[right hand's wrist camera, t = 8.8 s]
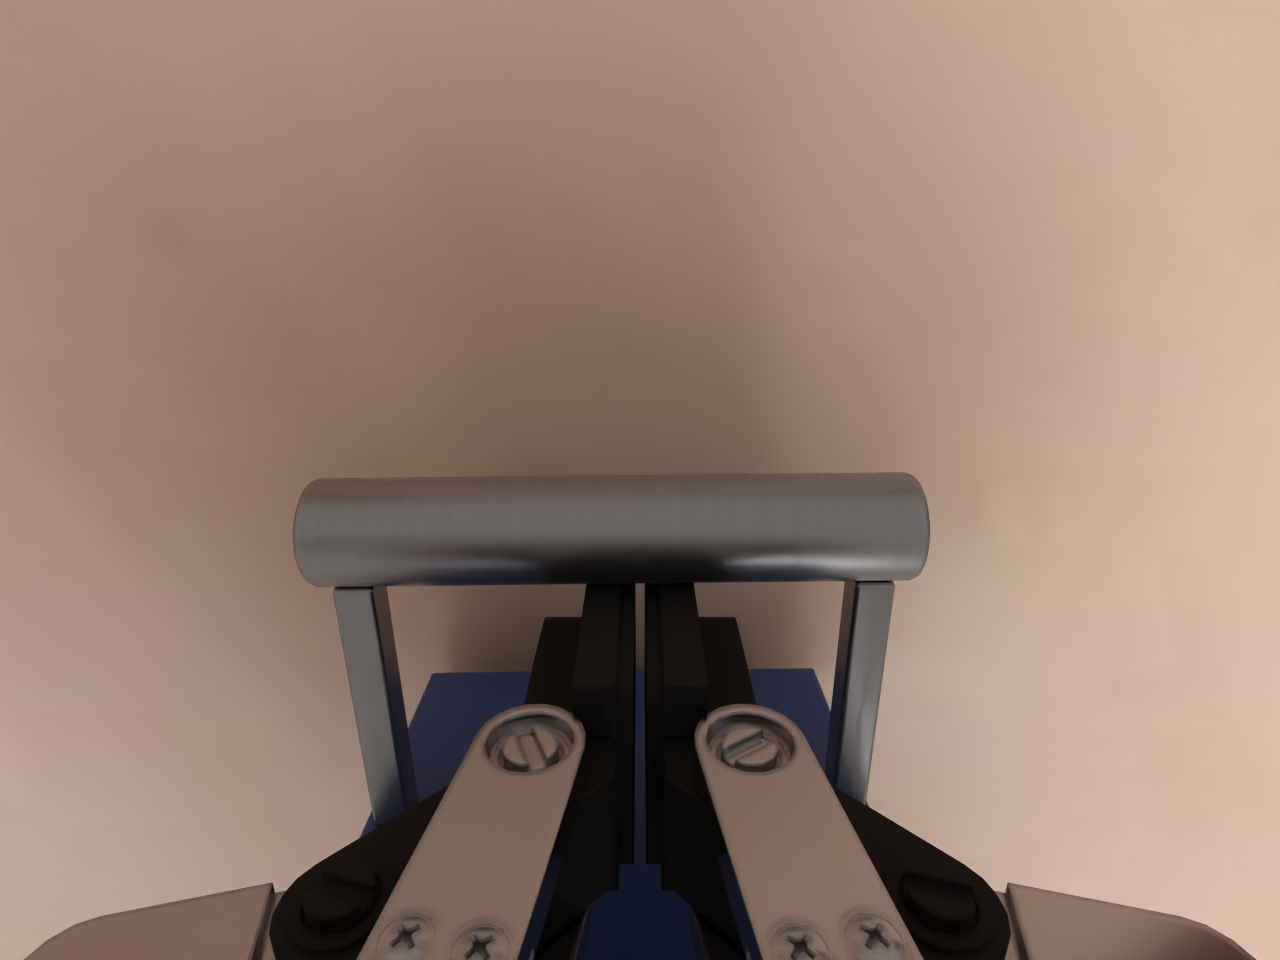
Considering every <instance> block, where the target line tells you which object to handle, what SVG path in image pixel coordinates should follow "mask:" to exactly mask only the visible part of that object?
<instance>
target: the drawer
mask: <svg viewBox="0 0 1280 960" xmlns="http://www.w3.org/2000/svg"><path fill="white" fill-rule="evenodd" d="M929 541H930V521H929V512H928V506H927V502H926V498H925V495H924V492H923V489H922V487H921V485H920V483H919V482H918V480H917V479H916V478H915V477H914V476H912V475H910V474H908V473H904V472H898V473H801V474H703V475H605V476H507V477H410V478H321V479H317V480H315V481H313V482H311V483H310V484H309V485H308V486H307V487H306V488H305V489H304V491H303V493H302V494H301V497H300V499H299V501H298V505H297V508H296V512H295V518H294V526H293V544H294V553H295V558H296V562H297V565H298V568H299V570H300V573H301V574H302V576H303V578H304V579H305V580H306V581H307V582H308V583H310V584H312V585H314V586H317V587H335V588H334V590H333V595H334V600H335V606H336V612H337V617H338V623H339V628H340V634H341V639H342V645H343V650H344V656H345V662H346V667H347V673H348V678H349V684H350V689H351V695H352V701H353V706H354V712H355V717H356V723H357V728H358V734H359V739H360V745H361V751H362V756H363V762H364V767H365V773H366V778H367V784H368V789H369V795H370V801H371V806H372V812H371V814H370V816H369V818H368V821H367V823H366V825H365V827H364V830H363V832H362V834H361V836H360V838H361V837H362V836H364V835H366V834H367V833H369V832H371V831H372V830H374V829H376V828H377V827H379V826H381V825H382V824H384V823H386V822H387V821H389V820H391V819H392V818H394V817H396V816H397V815H399V814H401V813H402V812H404V811H406V810H407V809H409V808H411V807H412V806H414V805H416V804H417V803H419V802H421V801H422V800H424V799H426V798H427V797H429V796H430V795H432V794H434V793H435V792H437V791H439V790H440V789H442V788H444V787H445V786H447V785H449V784H450V783H451V781H452V779H453V778H454V776H455V774H456V772H457V770H458V768H459V766H460V764H461V763H462V761H463V759H464V757H465V755H466V753H467V751H468V749H469V748H470V746H471V744H472V742H473V740H474V738H475V736H476V734H477V733H478V732H479V730H480V729H481V728H482V727H483V725H484V724H485V723H486V722H487V721H489V720H490V719H491V718H493V717H494V716H496V715H497V714H499V713H501V712H503V711H506V710H508V709H510V708H513V707H517V706H522V705H524V702H525V697H526V693H527V689H528V685H529V681H530V676H531V672H470V673H434V674H432V676H431V678H430V680H429V682H428V685H427V687H426V689H425V691H424V694H423V696H422V698H421V700H420V703H419V705H418V707H417V710H416V712H415V714H414V716H413V719H412V721H411V723H410V725H409V728H408V727H407V720H406V714H405V707H404V700H403V694H402V687H401V680H400V674H399V667H398V660H397V654H396V647H395V640H394V633H393V627H392V620H391V613H390V607H389V600H388V593H387V587H386V586H445V585H533V584H622V583H711V582H800V581H845V583H844V592H843V602H842V611H841V621H840V630H839V640H838V649H837V659H836V668H835V678H834V687H833V697H832V706H831V712H830V709H829V707H828V704H827V702H826V699H825V697H824V694H823V692H822V689H821V687H820V684H819V682H818V679H817V677H816V674H815V672H814V670H813V669H811V668H801V669H748V671H749V676H750V680H751V684H752V688H753V692H754V697H755V701H756V705H758V706H763V707H767V708H770V709H772V710H774V711H777V712H779V713H781V714H783V715H784V716H786V717H787V718H789V719H790V720H791V721H793V722H794V723H795V724H796V725H797V727H798V728H799V729H800V730H801V732H802V733H803V734H804V736H805V738H806V740H807V742H808V744H809V746H810V748H811V749H812V751H813V753H814V755H815V757H816V759H817V761H818V763H819V764H820V766H821V768H822V770H823V772H824V774H825V776H826V778H827V779H828V781H829V783H830V784H831V785H833V786H835V787H836V788H838V789H840V790H841V791H843V792H845V793H846V794H848V795H850V796H851V797H853V798H855V799H856V800H858V801H860V802H861V803H863V804H865V805H866V806H868V803H867V801H866V796H867V789H868V781H869V774H870V766H871V759H872V751H873V744H874V736H875V729H876V721H877V714H878V706H879V699H880V691H881V684H882V676H883V669H884V661H885V654H886V646H887V639H888V632H889V624H890V617H891V609H892V602H893V594H894V587H895V585H894V582H893V581H892V580H911V579H913V578H915V577H917V576H918V575H919V574H920V573H921V571H922V569H923V567H924V565H925V562H926V559H927V555H928V550H929ZM868 807H869V806H868ZM583 960H697V959H696V955H695V951H694V946H693V942H692V937H691V933H690V929H689V917H688V903H687V902H685V901H684V900H683V899H682V898H681V897H680V896H679V895H677V894H676V893H675V892H674V891H662V888H661V864H646V802H645V670H636V714H635V819H634V864H619V891H606V892H605V893H604V894H603V895H602V896H601V897H599V898H598V899H597V900H596V901H595V902H594V903H592V917H591V929H590V933H589V937H588V942H587V946H586V951H585V955H584V959H583Z"/></svg>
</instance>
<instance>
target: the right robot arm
mask: <svg viewBox="0 0 1280 960" xmlns="http://www.w3.org/2000/svg"><path fill="white" fill-rule="evenodd" d="M635 714H636V618H635V583H622V584H587V585H586V591H585V598H584V605H583V612H582V617H546V618H545V619H544V622H543V626H542V630H541V634H540V639H539V643H538V647H537V651H536V655H535V660H534V664H533V668H532V672H531V676H530V681H529V685H528V689H527V693H526V697H525V702H524V705H522V706H517V707H513V708H510V709H508V710H506V711H503V712H501V713H499V714H497V715H496V716H494V717H493V718H491V719H490V720H489V721H487V722H486V723H485V724H484V725H483V727H482V728H481V729H480V730H479V732H478V733H477V734H476V736H475V738H474V740H473V742H472V744H471V746H470V748H469V749H468V751H467V753H466V755H465V757H464V759H463V761H462V763H461V764H460V766H459V768H458V770H457V772H456V774H455V776H454V778H453V779H452V781H451V783H450V784H449V785H447V786H445V787H444V788H442V789H440V790H439V791H437V792H435V793H434V794H432V795H430V796H429V797H427V798H426V799H424V800H422V801H421V802H419V803H417V804H416V805H414V806H412V807H411V808H409V809H407V810H406V811H404V812H402V813H401V814H399V815H397V816H396V817H394V818H392V819H391V820H389V821H387V822H386V823H384V824H382V825H381V826H379V827H377V828H376V829H374V830H372V831H371V832H369V833H367V834H366V835H364V836H362V837H361V838H359V839H357V840H356V841H354V842H352V843H351V844H349V845H348V846H346V847H344V848H343V849H341V850H339V851H338V852H336V853H334V854H333V855H331V856H329V857H328V858H326V859H324V860H323V861H321V862H319V863H318V864H316V865H315V866H313V867H312V868H311V869H309V870H308V871H307V872H305V873H304V874H303V875H301V876H300V877H299V878H297V879H296V881H295V882H294V883H293V884H292V885H291V886H290V887H289V888H288V890H287V891H283V892H278V893H275V891H274V887H273V883H267V884H262V885H257V886H252V887H247V888H242V889H237V890H232V891H227V892H222V893H216V894H211V895H206V896H201V897H196V898H191V899H186V900H181V901H176V902H171V903H165V904H160V905H155V906H150V907H145V908H140V909H135V910H130V911H125V912H120V913H114V914H109V915H104V916H100V917H97V918H94V919H90V920H87V921H84V922H81V923H78V924H75V925H73V926H71V927H69V928H68V929H66V930H64V931H62V932H61V933H59V934H57V935H55V936H54V937H52V938H50V939H48V940H47V941H46V942H44V943H43V944H42V945H41V946H40V947H38V948H37V949H36V950H35V951H34V952H32V953H31V954H30V955H29V956H28V957H27V958H25V959H24V960H583V959H584V955H585V951H586V946H587V942H588V937H589V933H590V929H591V917H592V903H594V902H595V901H596V900H597V899H598V898H599V897H601V896H602V895H603V894H604V893H605V892H606V891H619V864H634V819H635ZM645 802H646V864H661V888H662V891H674V892H675V893H676V894H677V895H679V896H680V897H681V898H682V899H683V900H684V901H685V902H687V903H688V917H689V929H690V933H691V937H692V942H693V946H694V951H695V955H696V959H697V960H1256V959H1255V958H1254V957H1252V956H1251V955H1250V954H1249V953H1248V952H1246V951H1245V950H1244V949H1243V948H1242V947H1240V946H1239V945H1238V944H1237V943H1236V942H1235V941H1233V940H1232V939H1230V938H1228V937H1226V936H1225V935H1223V934H1221V933H1219V932H1218V931H1216V930H1214V929H1212V928H1211V927H1209V926H1207V925H1205V924H1202V923H1199V922H1196V921H1193V920H1190V919H1187V918H1183V917H1180V916H1176V915H1171V914H1166V913H1160V912H1155V911H1150V910H1145V909H1140V908H1135V907H1130V906H1125V905H1120V904H1115V903H1109V902H1104V901H1099V900H1094V899H1089V898H1084V897H1079V896H1074V895H1069V894H1064V893H1059V892H1053V891H1048V890H1043V889H1038V888H1033V887H1028V886H1023V885H1018V884H1013V883H1008V884H1007V888H1006V892H1005V893H1002V892H997V891H993V889H992V888H991V887H990V886H989V885H988V884H987V883H986V882H985V880H984V879H983V878H982V877H980V876H979V875H978V874H976V873H975V872H973V871H972V870H971V869H969V868H968V867H967V866H965V865H964V864H962V863H961V862H959V861H958V860H956V859H954V858H953V857H951V856H949V855H948V854H946V853H944V852H943V851H941V850H939V849H938V848H936V847H934V846H933V845H931V844H929V843H928V842H926V841H924V840H923V839H921V838H919V837H918V836H916V835H914V834H913V833H911V832H909V831H908V830H906V829H904V828H903V827H901V826H899V825H898V824H896V823H894V822H893V821H891V820H890V819H888V818H886V817H885V816H883V815H881V814H880V813H878V812H876V811H875V810H873V809H871V808H870V807H868V806H866V805H865V804H863V803H861V802H860V801H858V800H856V799H855V798H853V797H851V796H850V795H848V794H846V793H845V792H843V791H841V790H840V789H838V788H836V787H835V786H833V785H831V784H830V783H829V781H828V779H827V778H826V776H825V774H824V772H823V770H822V768H821V766H820V764H819V763H818V761H817V759H816V757H815V755H814V753H813V751H812V749H811V748H810V746H809V744H808V742H807V740H806V738H805V736H804V734H803V733H802V732H801V730H800V729H799V728H798V727H797V725H796V724H795V723H794V722H793V721H791V720H790V719H789V718H787V717H786V716H784V715H783V714H781V713H779V712H777V711H774V710H772V709H770V708H767V707H763V706H758V705H756V701H755V697H754V692H753V688H752V684H751V680H750V676H749V671H748V667H747V663H746V659H745V655H744V650H743V646H742V642H741V638H740V634H739V629H738V625H737V622H736V619H735V618H734V617H698V611H697V604H696V597H695V590H694V583H645Z"/></svg>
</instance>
